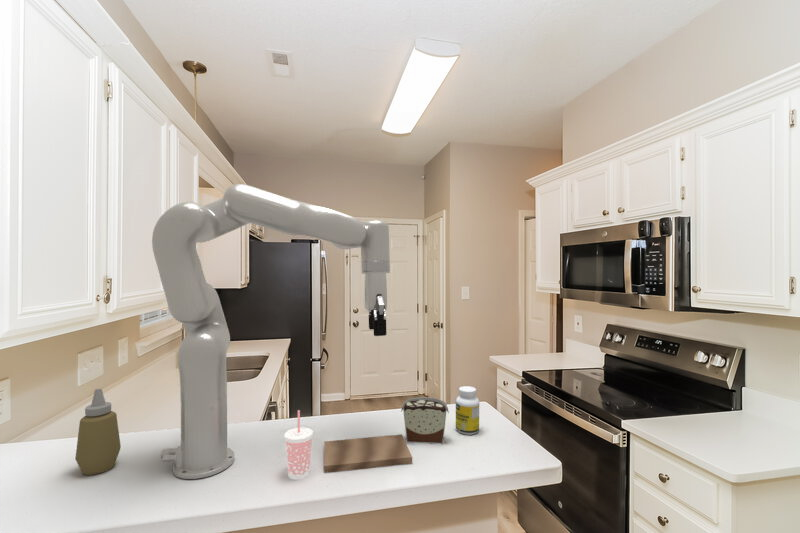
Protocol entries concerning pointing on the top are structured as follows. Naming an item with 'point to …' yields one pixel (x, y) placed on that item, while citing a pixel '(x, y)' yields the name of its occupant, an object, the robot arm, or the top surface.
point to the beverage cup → (298, 451)
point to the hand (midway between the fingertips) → (377, 332)
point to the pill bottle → (467, 411)
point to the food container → (424, 420)
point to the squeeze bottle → (98, 437)
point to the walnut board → (365, 453)
